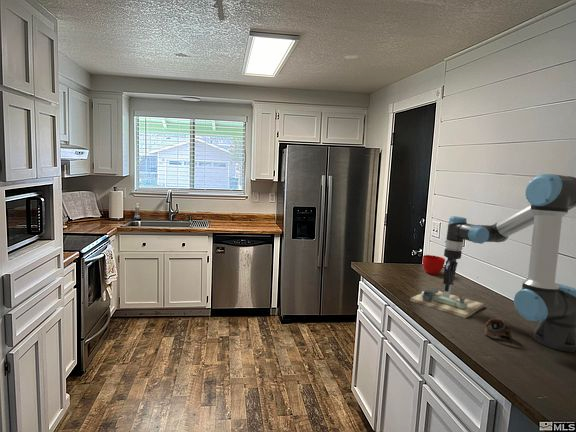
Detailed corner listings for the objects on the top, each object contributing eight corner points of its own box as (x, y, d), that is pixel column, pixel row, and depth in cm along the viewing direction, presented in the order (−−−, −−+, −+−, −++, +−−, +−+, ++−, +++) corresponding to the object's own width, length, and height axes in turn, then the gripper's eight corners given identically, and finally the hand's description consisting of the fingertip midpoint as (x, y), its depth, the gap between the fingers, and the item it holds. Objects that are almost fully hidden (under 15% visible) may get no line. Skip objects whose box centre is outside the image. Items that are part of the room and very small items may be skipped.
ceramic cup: (445, 272, 260) (448, 257, 259) (440, 277, 246) (442, 261, 244) (425, 268, 267) (427, 253, 265) (418, 272, 252) (420, 257, 251)
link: (468, 307, 187) (469, 303, 187) (464, 309, 184) (465, 305, 184) (423, 294, 202) (424, 290, 201) (419, 296, 198) (419, 292, 198)
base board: (483, 306, 197) (485, 293, 196) (465, 318, 178) (467, 303, 177) (431, 291, 214) (433, 279, 213) (410, 300, 195) (411, 287, 195)
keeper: (437, 298, 198) (438, 289, 198) (428, 302, 191) (430, 293, 190) (431, 296, 200) (432, 287, 200) (422, 300, 193) (424, 291, 192)
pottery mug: (517, 344, 156) (513, 327, 153) (492, 351, 158) (487, 334, 155) (504, 324, 167) (499, 309, 165) (480, 331, 169) (476, 315, 166)
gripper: (449, 246, 199) (442, 292, 203) (440, 249, 189) (433, 298, 192) (465, 249, 195) (458, 296, 198) (457, 252, 185) (449, 302, 188)
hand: (446, 297), depth 195 cm, fingers closed
